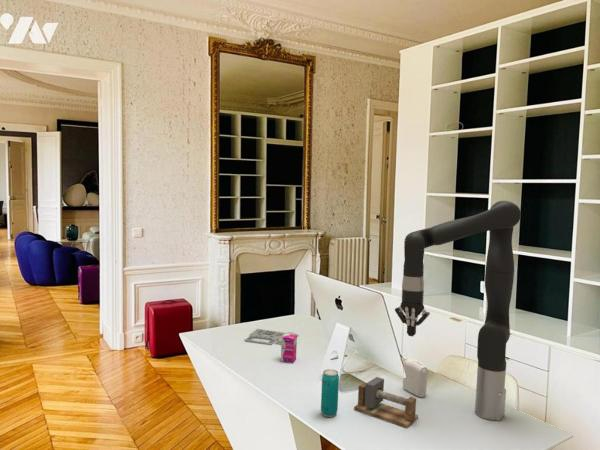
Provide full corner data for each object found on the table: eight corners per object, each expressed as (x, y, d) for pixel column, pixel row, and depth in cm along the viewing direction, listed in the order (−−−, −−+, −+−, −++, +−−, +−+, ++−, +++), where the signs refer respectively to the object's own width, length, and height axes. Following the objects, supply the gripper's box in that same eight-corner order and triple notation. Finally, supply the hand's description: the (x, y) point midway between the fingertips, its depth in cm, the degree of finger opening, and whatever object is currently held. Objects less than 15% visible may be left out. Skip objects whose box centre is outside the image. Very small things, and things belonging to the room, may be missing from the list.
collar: (382, 400, 177) (384, 379, 176) (372, 408, 171) (373, 385, 170) (375, 398, 179) (376, 376, 178) (364, 405, 172) (365, 383, 172)
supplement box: (280, 362, 218) (281, 336, 217) (284, 357, 224) (284, 333, 223) (293, 363, 217) (293, 338, 216) (296, 359, 222) (297, 334, 221)
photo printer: (400, 388, 195) (402, 357, 194) (409, 386, 197) (410, 356, 196) (419, 398, 186) (421, 366, 185) (427, 396, 188) (429, 364, 187)
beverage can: (327, 408, 175) (328, 367, 173) (340, 414, 171) (342, 372, 170) (317, 414, 170) (318, 372, 169) (330, 419, 166) (332, 376, 165)
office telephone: (299, 332, 257) (286, 343, 238) (298, 337, 257) (286, 348, 238) (257, 326, 264) (242, 337, 245) (257, 331, 264) (242, 342, 245)
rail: (418, 418, 170) (419, 395, 169) (406, 428, 162) (408, 404, 162) (366, 401, 182) (367, 380, 181) (354, 410, 174) (355, 388, 174)
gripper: (434, 289, 176) (432, 336, 177) (399, 284, 184) (398, 330, 185) (426, 292, 170) (425, 341, 171) (391, 287, 177) (389, 334, 179)
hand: (411, 335), depth 178 cm, fingers closed
